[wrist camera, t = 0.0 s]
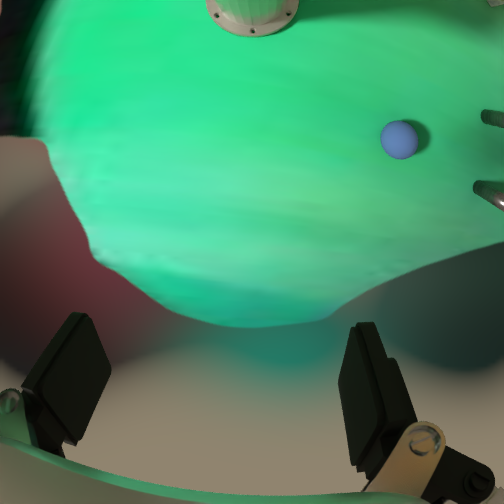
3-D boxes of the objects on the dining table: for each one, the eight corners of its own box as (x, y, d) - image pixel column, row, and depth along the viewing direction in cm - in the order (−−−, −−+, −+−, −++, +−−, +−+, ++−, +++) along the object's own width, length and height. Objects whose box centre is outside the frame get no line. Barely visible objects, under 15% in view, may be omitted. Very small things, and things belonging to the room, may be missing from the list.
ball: (376, 117, 39) (389, 120, 34) (409, 121, 39) (426, 125, 34) (374, 153, 42) (387, 161, 37) (407, 157, 41) (422, 164, 36)
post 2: (474, 179, 42) (504, 196, 34) (484, 181, 41) (514, 198, 33) (471, 193, 43) (501, 212, 35) (481, 194, 43) (511, 213, 35)
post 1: (481, 107, 36) (515, 114, 28) (491, 111, 36) (525, 118, 28) (480, 122, 37) (513, 130, 29) (490, 125, 37) (524, 134, 29)
